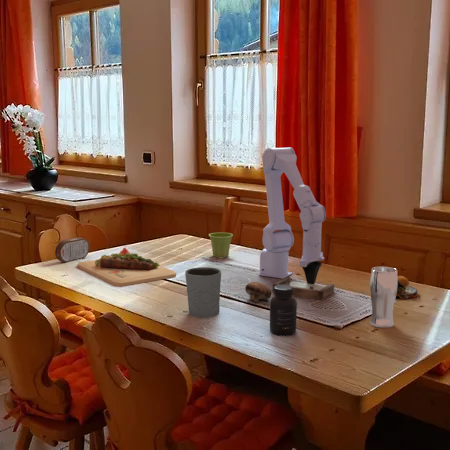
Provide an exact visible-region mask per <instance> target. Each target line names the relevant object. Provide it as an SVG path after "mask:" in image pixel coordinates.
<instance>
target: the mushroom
mask: <svg viewBox="0 0 450 450" xmlns="http://www.w3.org/2000/svg"><path fill="white" fill-rule="evenodd" d="M244 289H245V292H246V294H247V295H249V298H250V300H252V301H253V302H255V303H258V302H259V300H262V301H263V300H269V299H271V298H272V291H271V288H270V287H268V285H266V284H264V283H261V282H258V281H251V282H250V281H249V282H248V283H247V284H245V287H244Z"/></svg>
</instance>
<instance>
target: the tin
mask: <svg viewBox="0 0 450 450" xmlns="http://www.w3.org/2000/svg"><path fill="white" fill-rule="evenodd" d="M54 251H55V252H54V254H55V257H56V259H57V260H58V261H59V262H64V263H69V262H75V261H78V260H77V259H79V260H82V259H81V258H83V259H84V257H85V258H86V257H87V256H88V254H89V252H90V242H89V241H88V239H86V238H83V237H81V236H79V237H77V236H76V237H73V238H67V239H62V240H60V241H59V242H58V243H57V245H56V247H55V250H54Z"/></svg>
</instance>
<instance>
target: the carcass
mask: <svg viewBox="0 0 450 450" xmlns="http://www.w3.org/2000/svg"><path fill="white" fill-rule="evenodd" d="M290 281H291V277H289V276H287V277H285V278H283V279H282V278H281V279H280V280H279V281H276V282H275V283H273V284H272V293H274V287H275V286H276V285H290ZM325 286H326V287H324V288H323V289H321V290H313V287H312V286H310V288H309V289H307V288H300V287H294V286H292V287H293V295H292V296H293V297H302V298H308V299H313V300H321V301H323V300H324V299H326V298H327V297H328V296H330V295H331V294H333V293H334V292H335V284H334V283H329V284H328V285H325Z"/></svg>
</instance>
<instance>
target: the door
mask: <svg viewBox="0 0 450 450" xmlns="http://www.w3.org/2000/svg"><path fill="white" fill-rule="evenodd" d="M290 286H294V287H300V288H307V289H309V288H310V286H312V287H313V290H321V289H323V288H324V287H326V286H327V285H320V284H316V283H315V284H308V283H307V282H300V281H294V280H292V281H291V282H290Z"/></svg>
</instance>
